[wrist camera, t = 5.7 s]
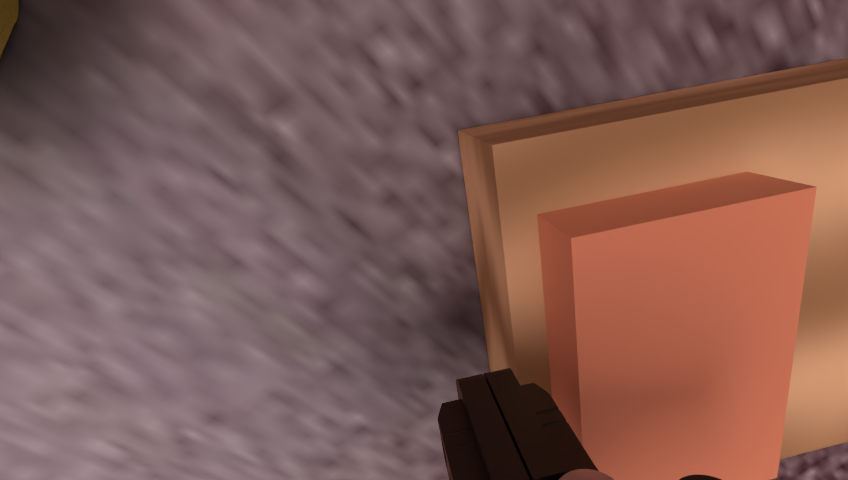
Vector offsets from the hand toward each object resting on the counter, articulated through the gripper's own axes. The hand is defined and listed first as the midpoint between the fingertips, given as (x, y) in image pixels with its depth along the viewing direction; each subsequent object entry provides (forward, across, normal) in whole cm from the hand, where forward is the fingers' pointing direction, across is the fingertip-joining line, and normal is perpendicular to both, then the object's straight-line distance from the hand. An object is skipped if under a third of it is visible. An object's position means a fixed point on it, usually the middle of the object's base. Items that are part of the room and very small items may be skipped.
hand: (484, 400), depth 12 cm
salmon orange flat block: (+1, -5, 0) cm, 5 cm away
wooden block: (+5, -8, 0) cm, 10 cm away
